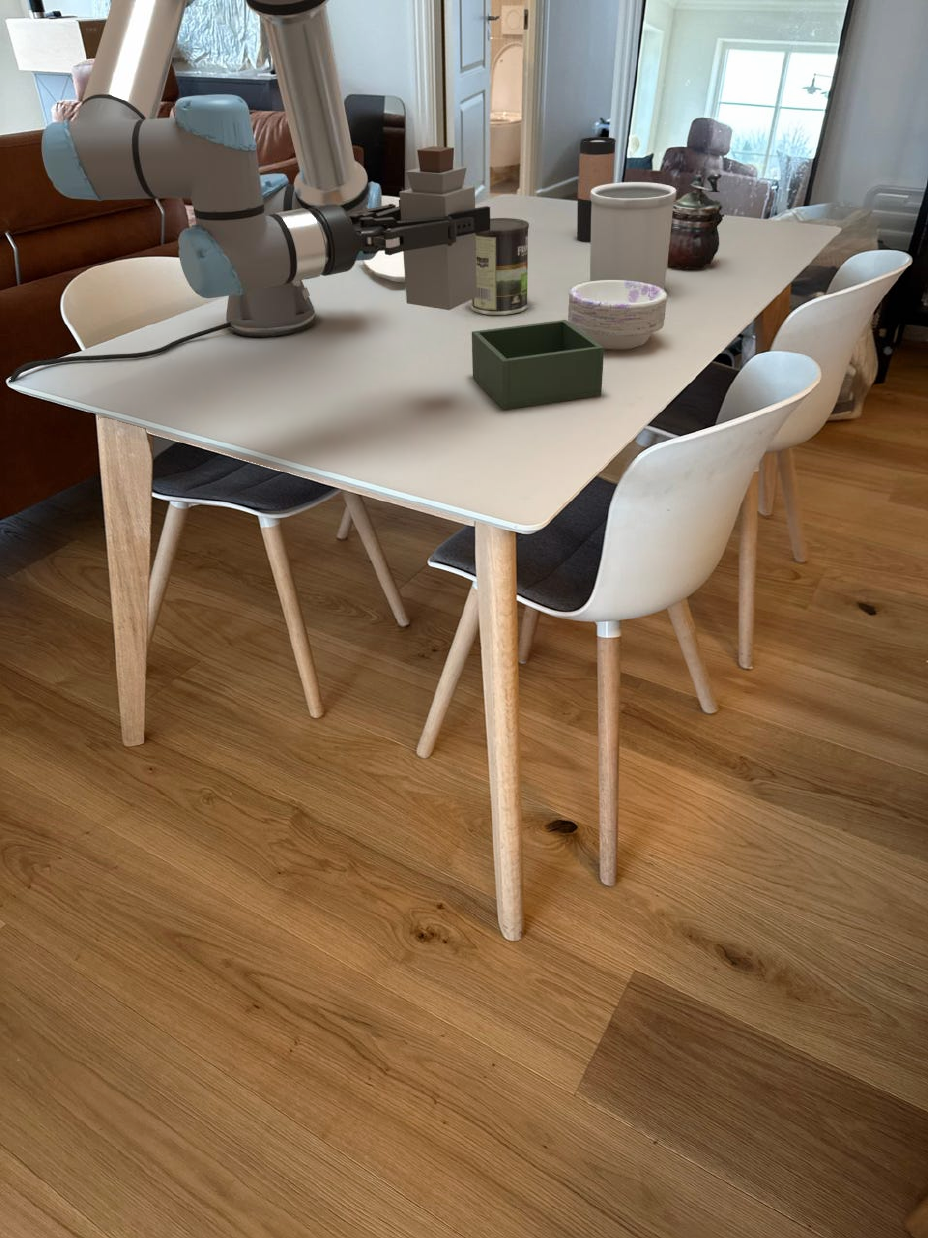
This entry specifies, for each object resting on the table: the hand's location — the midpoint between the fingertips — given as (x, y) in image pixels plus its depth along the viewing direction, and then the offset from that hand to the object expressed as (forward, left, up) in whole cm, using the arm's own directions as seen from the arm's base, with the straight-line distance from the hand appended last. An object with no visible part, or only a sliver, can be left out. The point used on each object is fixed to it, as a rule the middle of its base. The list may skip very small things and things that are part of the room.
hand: (469, 213), depth 117 cm
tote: (+9, -2, -23) cm, 25 cm away
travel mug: (+54, +79, -24) cm, 98 cm away
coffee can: (+17, +37, -24) cm, 47 cm away
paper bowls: (+28, +12, -24) cm, 38 cm away
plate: (+12, +67, -24) cm, 72 cm away
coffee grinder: (+62, +48, -24) cm, 81 cm away
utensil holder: (+42, +37, -24) cm, 60 cm away
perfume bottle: (-5, -2, -10) cm, 11 cm away
